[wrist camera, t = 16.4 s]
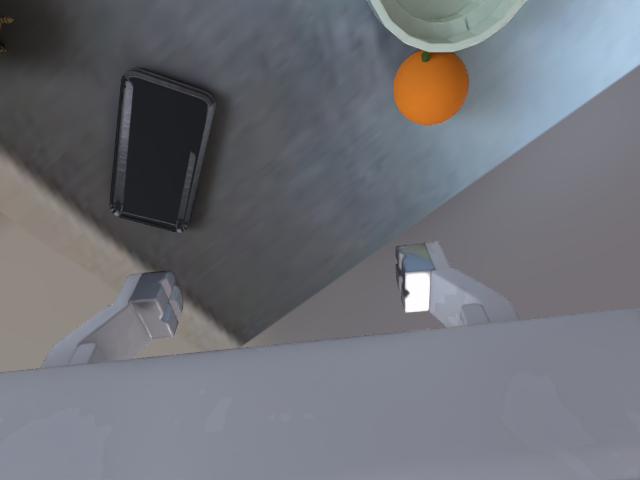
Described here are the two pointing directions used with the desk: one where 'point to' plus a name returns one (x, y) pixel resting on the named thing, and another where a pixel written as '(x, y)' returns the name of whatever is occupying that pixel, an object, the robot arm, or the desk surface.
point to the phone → (159, 149)
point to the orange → (430, 86)
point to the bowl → (444, 21)
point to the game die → (3, 20)
